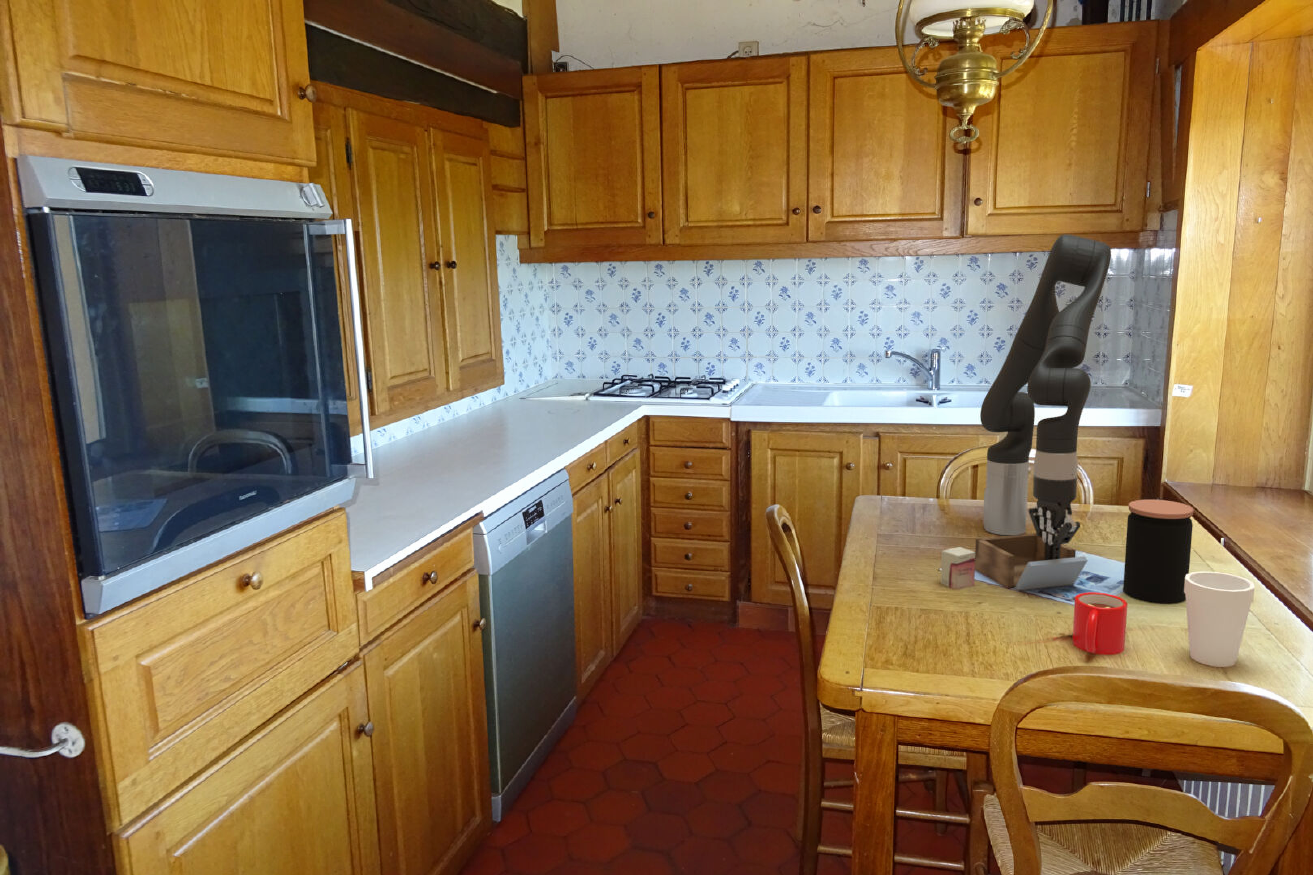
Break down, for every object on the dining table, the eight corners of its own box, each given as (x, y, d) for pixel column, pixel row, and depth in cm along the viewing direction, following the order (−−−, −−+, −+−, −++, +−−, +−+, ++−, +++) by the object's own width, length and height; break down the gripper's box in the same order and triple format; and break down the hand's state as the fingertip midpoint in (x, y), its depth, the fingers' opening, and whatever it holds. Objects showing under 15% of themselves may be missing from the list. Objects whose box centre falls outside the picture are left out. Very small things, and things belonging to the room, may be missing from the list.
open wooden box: (974, 573, 189) (975, 539, 187) (1037, 567, 192) (1038, 533, 190) (1007, 593, 177) (1009, 556, 176) (1073, 586, 180) (1075, 549, 179)
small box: (956, 594, 178) (957, 555, 176) (939, 588, 181) (940, 550, 180) (975, 589, 180) (976, 551, 178) (958, 583, 184) (959, 545, 182)
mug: (1063, 657, 148) (1066, 611, 147) (1076, 632, 158) (1079, 589, 157) (1117, 668, 144) (1120, 620, 143) (1127, 641, 154) (1130, 596, 152)
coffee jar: (1180, 591, 175) (1187, 500, 172) (1192, 611, 165) (1200, 515, 162) (1118, 587, 179) (1124, 497, 176) (1126, 606, 169) (1133, 512, 166)
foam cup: (1183, 666, 144) (1190, 587, 141) (1174, 643, 152) (1180, 569, 150) (1254, 674, 140) (1262, 593, 138) (1240, 650, 149) (1247, 574, 146)
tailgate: (1013, 589, 177) (1027, 562, 172) (1070, 583, 179) (1085, 556, 174) (1015, 593, 176) (1029, 566, 171) (1072, 587, 179) (1088, 560, 173)
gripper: (1096, 479, 166) (1092, 571, 169) (1051, 465, 179) (1048, 550, 182) (1059, 482, 164) (1055, 575, 167) (1016, 468, 177) (1014, 554, 180)
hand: (1051, 562), depth 175 cm, fingers closed
